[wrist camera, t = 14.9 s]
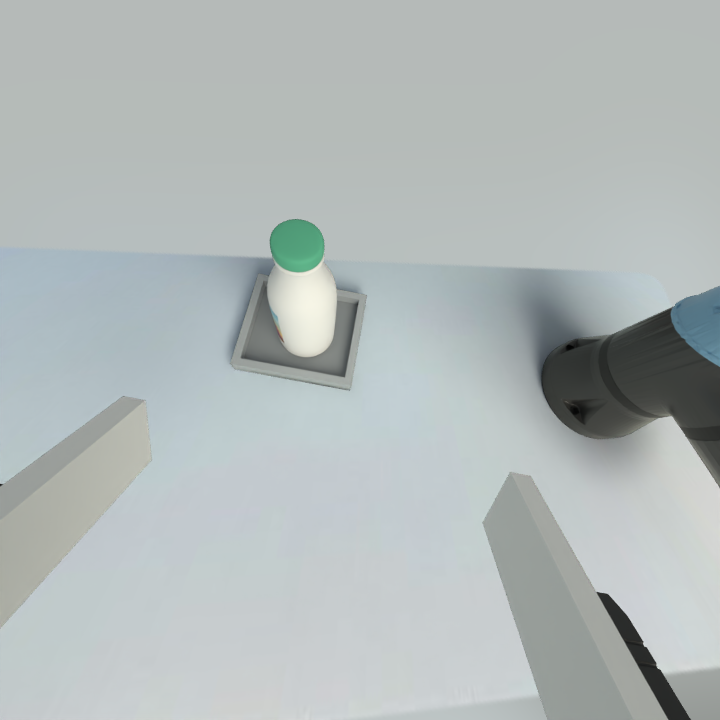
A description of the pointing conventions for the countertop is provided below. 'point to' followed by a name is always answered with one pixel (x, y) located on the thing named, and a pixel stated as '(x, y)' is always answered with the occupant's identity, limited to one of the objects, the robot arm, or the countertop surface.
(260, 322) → the tray
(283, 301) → the milk bottle
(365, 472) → the countertop surface
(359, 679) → the countertop surface
